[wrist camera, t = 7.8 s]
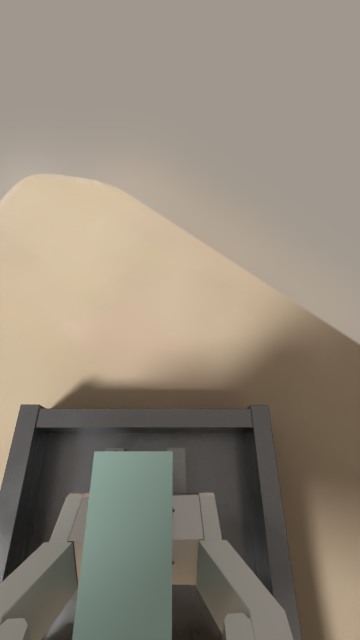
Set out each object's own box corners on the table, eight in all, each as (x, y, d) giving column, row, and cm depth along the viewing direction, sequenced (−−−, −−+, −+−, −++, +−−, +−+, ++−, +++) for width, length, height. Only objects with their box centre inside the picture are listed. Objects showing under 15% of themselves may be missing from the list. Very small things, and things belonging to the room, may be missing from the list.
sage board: (166, 562, 14) (171, 707, 5) (127, 563, 14) (63, 713, 5) (167, 466, 16) (172, 451, 7) (133, 466, 16) (94, 451, 7)
